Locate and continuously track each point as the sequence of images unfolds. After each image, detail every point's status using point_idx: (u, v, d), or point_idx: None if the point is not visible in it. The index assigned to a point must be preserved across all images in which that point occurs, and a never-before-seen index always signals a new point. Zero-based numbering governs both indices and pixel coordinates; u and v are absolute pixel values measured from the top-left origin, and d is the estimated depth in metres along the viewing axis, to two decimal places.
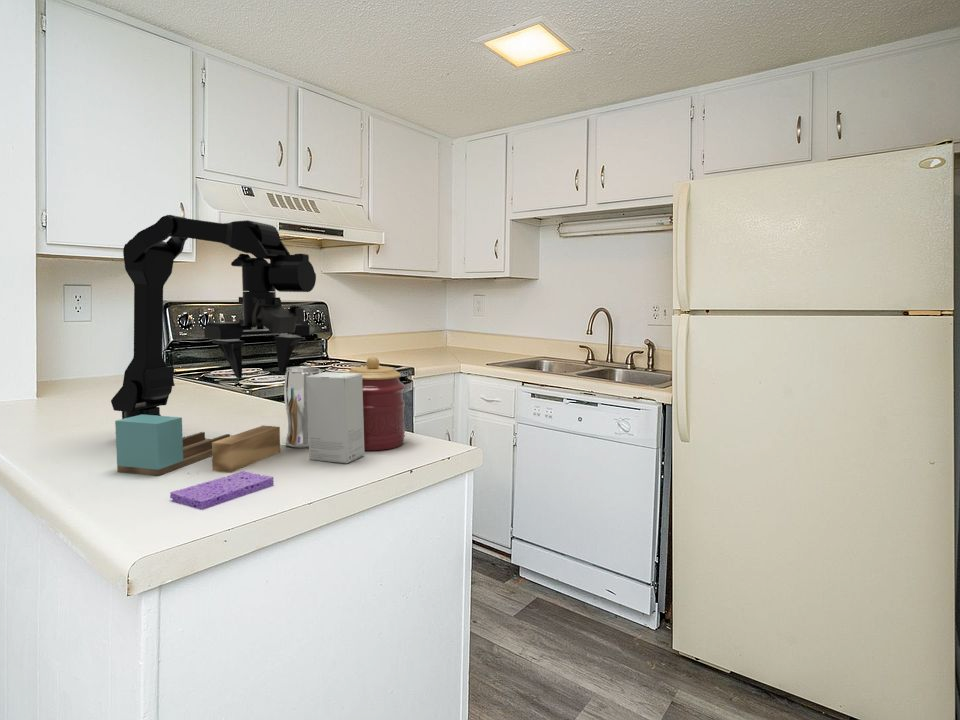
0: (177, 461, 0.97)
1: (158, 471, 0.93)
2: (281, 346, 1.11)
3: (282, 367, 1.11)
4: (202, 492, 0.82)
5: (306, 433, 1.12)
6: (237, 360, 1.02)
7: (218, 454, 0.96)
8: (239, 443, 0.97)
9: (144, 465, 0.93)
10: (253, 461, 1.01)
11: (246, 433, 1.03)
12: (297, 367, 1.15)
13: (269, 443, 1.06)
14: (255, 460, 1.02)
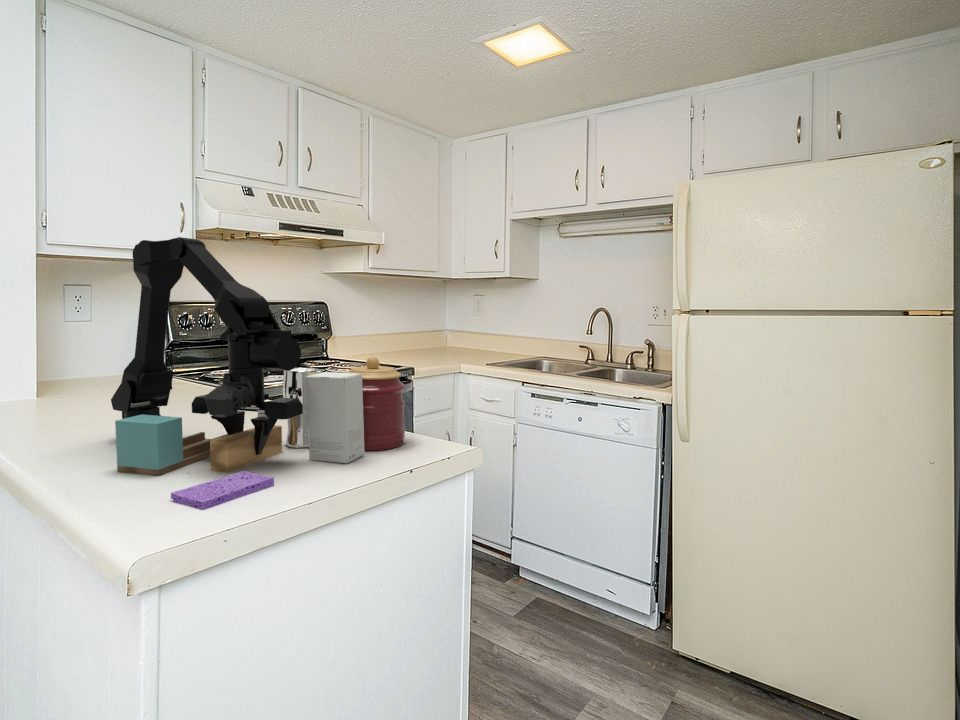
0: (177, 461, 0.97)
1: (158, 471, 0.93)
2: None
3: None
4: (203, 493, 0.82)
5: (306, 432, 1.12)
6: None
7: (215, 453, 0.96)
8: (236, 441, 0.97)
9: (144, 465, 0.93)
10: (252, 460, 1.01)
11: (246, 432, 1.03)
12: (295, 368, 1.16)
13: (270, 442, 1.06)
14: (254, 459, 1.02)
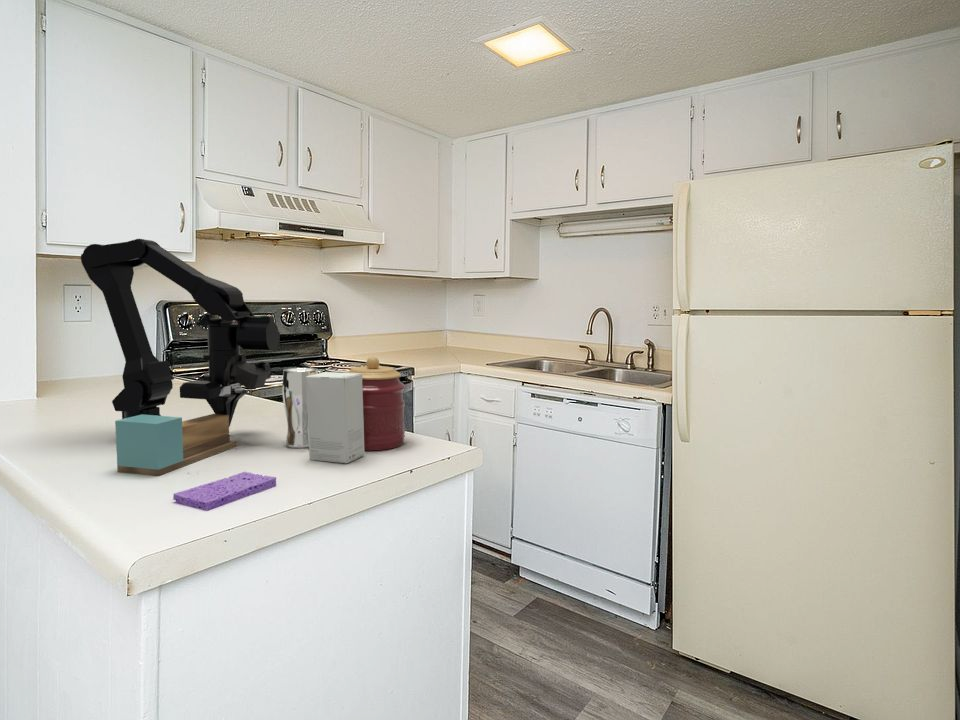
0: (177, 461, 0.97)
1: (158, 471, 0.93)
2: None
3: None
4: (206, 494, 0.82)
5: (306, 432, 1.12)
6: (227, 412, 1.13)
7: None
8: None
9: (144, 465, 0.93)
10: None
11: (192, 420, 1.07)
12: (294, 369, 1.16)
13: (217, 430, 1.09)
14: None
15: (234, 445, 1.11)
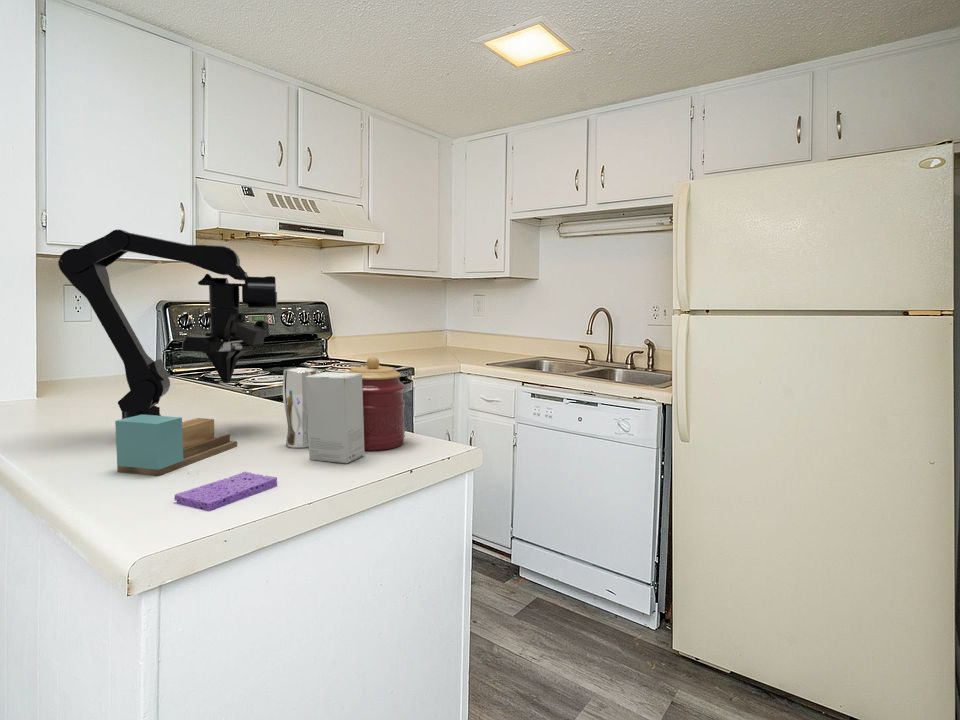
0: (177, 461, 0.97)
1: (158, 471, 0.93)
2: None
3: None
4: (207, 494, 0.82)
5: (306, 433, 1.12)
6: (227, 367, 1.19)
7: None
8: None
9: (144, 465, 0.93)
10: None
11: None
12: (294, 369, 1.15)
13: (202, 435, 1.05)
14: None
15: (234, 445, 1.11)
